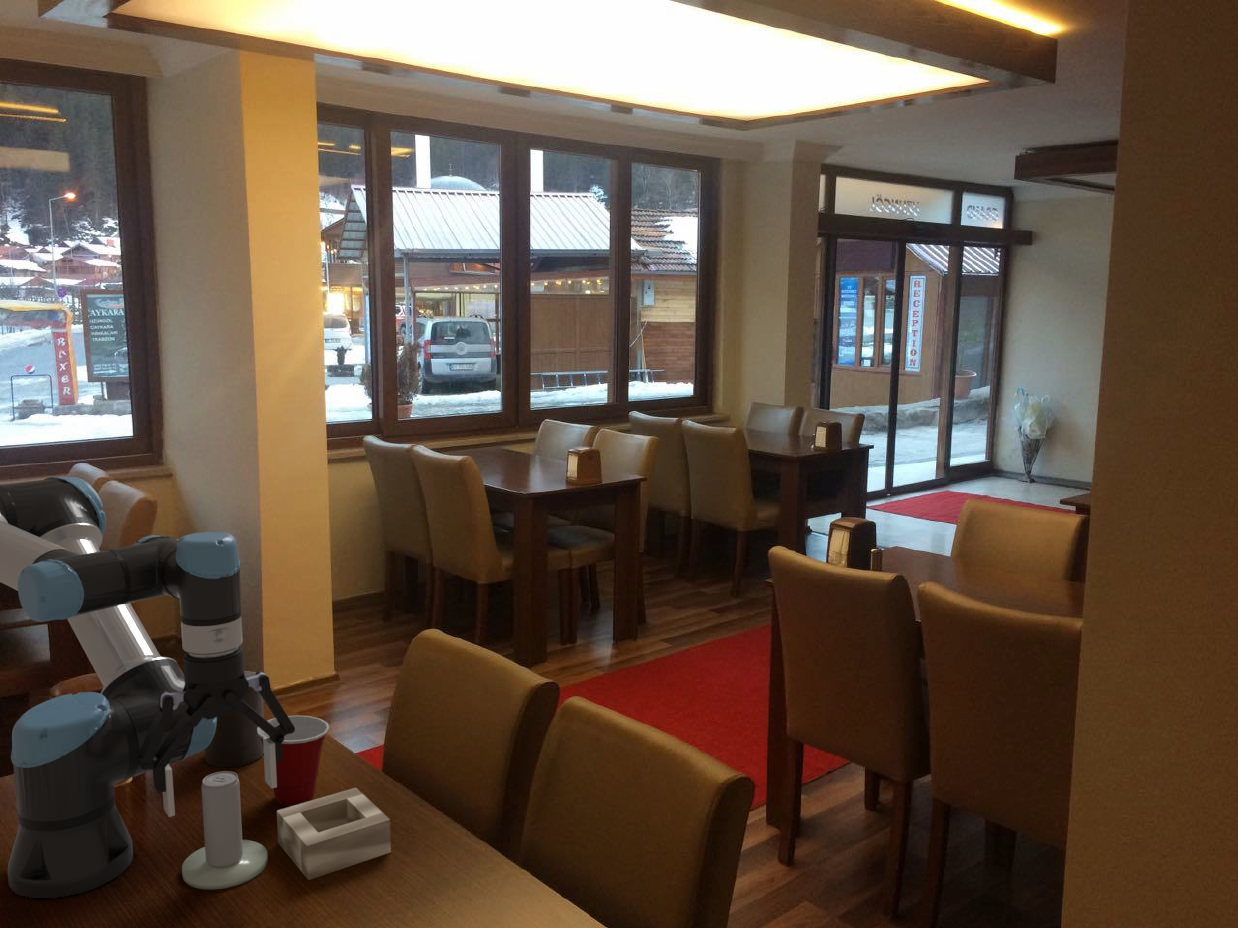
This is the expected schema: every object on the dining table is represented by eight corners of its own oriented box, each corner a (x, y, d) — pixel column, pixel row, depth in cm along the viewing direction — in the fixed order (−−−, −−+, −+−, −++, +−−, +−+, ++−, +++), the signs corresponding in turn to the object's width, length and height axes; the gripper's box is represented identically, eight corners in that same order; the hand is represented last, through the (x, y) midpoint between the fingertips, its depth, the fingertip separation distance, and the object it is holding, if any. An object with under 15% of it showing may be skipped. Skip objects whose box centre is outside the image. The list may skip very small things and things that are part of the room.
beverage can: (230, 871, 138) (225, 788, 136) (198, 867, 139) (193, 784, 137) (250, 853, 142) (246, 772, 141) (219, 849, 143) (214, 768, 142)
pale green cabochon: (173, 862, 142) (172, 855, 142) (252, 837, 148) (252, 831, 148) (194, 898, 133) (194, 891, 133) (278, 871, 140) (278, 864, 140)
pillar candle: (229, 773, 169) (225, 686, 166) (193, 758, 174) (189, 674, 172) (277, 752, 177) (274, 670, 175) (241, 739, 182) (238, 658, 180)
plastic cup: (341, 801, 159) (339, 729, 157) (271, 821, 153) (267, 745, 151) (319, 775, 168) (316, 706, 166) (252, 792, 162) (248, 721, 160)
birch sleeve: (278, 842, 147) (276, 810, 146) (357, 818, 154) (356, 787, 153) (308, 880, 138) (307, 845, 137) (390, 852, 145) (390, 819, 144)
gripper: (117, 676, 125) (129, 836, 129) (314, 638, 140) (320, 782, 144) (105, 659, 131) (116, 813, 135) (295, 624, 146) (301, 763, 150)
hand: (221, 797), depth 139 cm, fingers open, 13 cm apart
